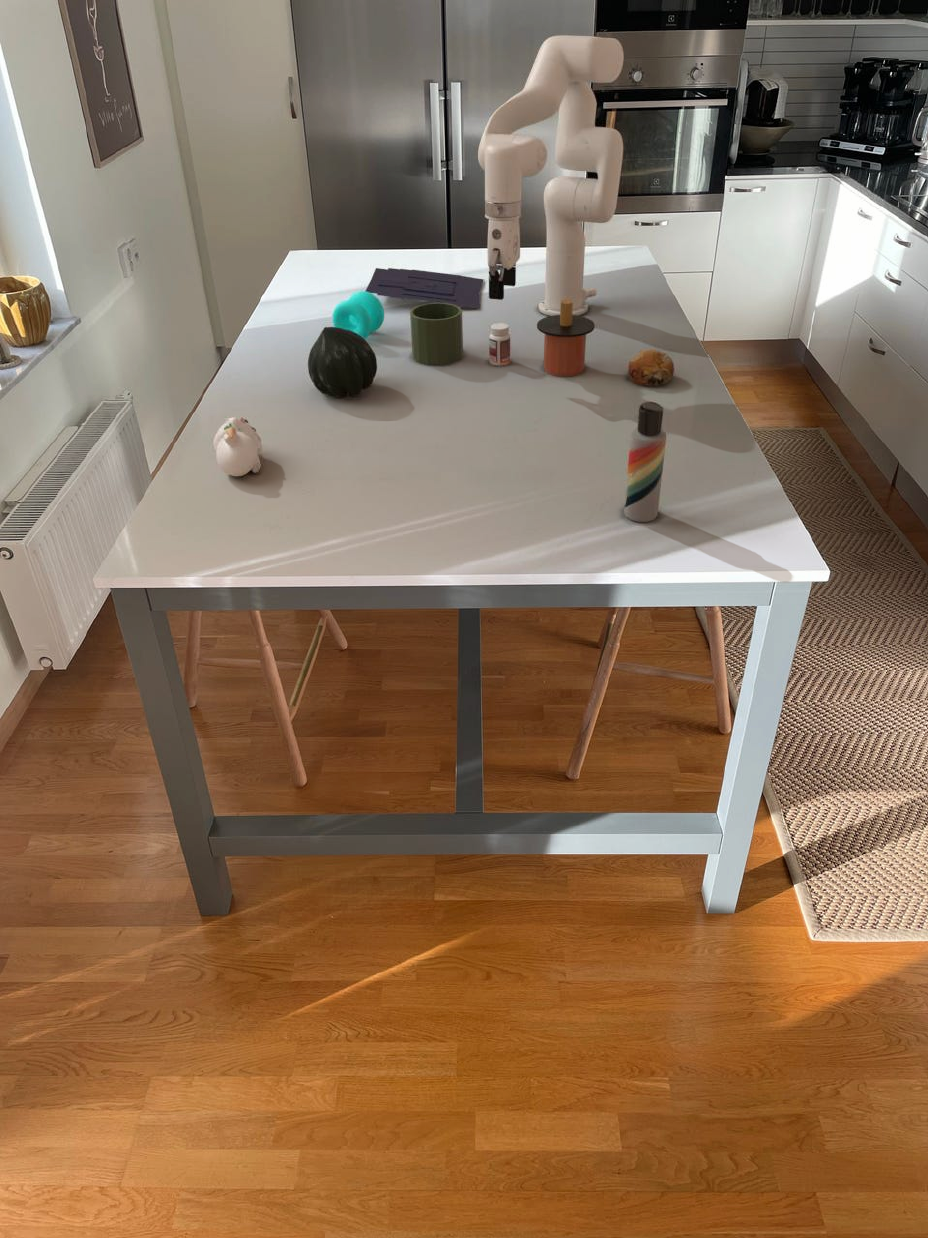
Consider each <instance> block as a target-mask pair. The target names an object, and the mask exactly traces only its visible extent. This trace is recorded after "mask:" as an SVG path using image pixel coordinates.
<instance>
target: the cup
mask: <svg viewBox="0 0 928 1238" xmlns="http://www.w3.org/2000/svg"><path fill="white" fill-rule="evenodd" d="M543 340H544V343H543V370H544V372H545V373H547V374H548V375H551V376H555V377H574V376H577V375H580V374H582V373H583V372H584V371H585V363H586V346H587V345H586V344H587V334H586V335H582V336H576V337H557V336H551V335H547V334H544V339H543Z"/></svg>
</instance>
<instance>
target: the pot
mask: <svg viewBox="0 0 928 1238" xmlns="http://www.w3.org/2000/svg"><path fill="white" fill-rule="evenodd" d="M409 315H410V316H409V317H410V319H409V320H410V335H411V336H410V337H411V338H410V339H411V351H412V353H411V354H412V358H413V360H414V361H415V362H416V363H419V364H422V365H425V366H437V367H438V366H446V365H452V364H454V363H457V362H459V361H460V360H461V359H463V357H464V333H463V332H464V331H463V329H464V327H463V309H462V308H461V306H457V305H454V304H449V303H436V302H428V303H423V304H419V305H417V306H414V307H413V308H411V310H410V311H409Z"/></svg>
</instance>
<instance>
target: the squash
mask: <svg viewBox="0 0 928 1238" xmlns="http://www.w3.org/2000/svg"><path fill="white" fill-rule="evenodd" d="M307 369H308V375H309V378H310V381H311V382H312V383H313V386H314V387H315V388H316V389H317V390H318V391H319V392H320V393H321V394H323V395H327V396H333V397H335V398H338V399H343V398H345V397H346V396H347V395H348V397H349V396H350V397H351V398H354V397H357V396H359V395H360V394H361V392H362V390H367V389H369V388H370V387H371V386H372V385H373V382H374V379H375V378H376V375H377V372H378V362H377V356H376V354H375V351H374V350H373V348H372V347H371V345H370V344H369V342H368V341H367V340H366V339H363V338H362V337H361V336H360V335H359V334H357V333H355V332H353V331H350V330H346V329H342V328H337V327H334V326H328V327H327V326H325V327H323V329H322V330H321V332H320V334H319V336H318V337H317V339H316V341H315V342H314V344H313V345H312V347H311V349H310V351H309V353H308V359H307Z"/></svg>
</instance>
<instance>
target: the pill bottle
mask: <svg viewBox="0 0 928 1238" xmlns="http://www.w3.org/2000/svg"><path fill="white" fill-rule="evenodd" d="M509 332H510V325H508V324H507V323H502V322H501V323H500V322H498V323H493V324H492V325H491V326H490V335H489V336H488V340H489V342H488V343H489V344H488V345H489V363H490V364H491V365H492V366H497V367H498V366H499V367H501V366H506V365H509V364H510V362H511V334H510V333H509Z"/></svg>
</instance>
